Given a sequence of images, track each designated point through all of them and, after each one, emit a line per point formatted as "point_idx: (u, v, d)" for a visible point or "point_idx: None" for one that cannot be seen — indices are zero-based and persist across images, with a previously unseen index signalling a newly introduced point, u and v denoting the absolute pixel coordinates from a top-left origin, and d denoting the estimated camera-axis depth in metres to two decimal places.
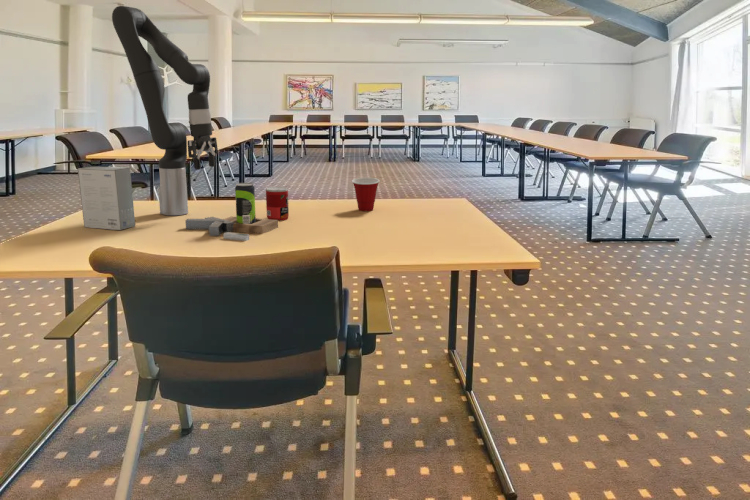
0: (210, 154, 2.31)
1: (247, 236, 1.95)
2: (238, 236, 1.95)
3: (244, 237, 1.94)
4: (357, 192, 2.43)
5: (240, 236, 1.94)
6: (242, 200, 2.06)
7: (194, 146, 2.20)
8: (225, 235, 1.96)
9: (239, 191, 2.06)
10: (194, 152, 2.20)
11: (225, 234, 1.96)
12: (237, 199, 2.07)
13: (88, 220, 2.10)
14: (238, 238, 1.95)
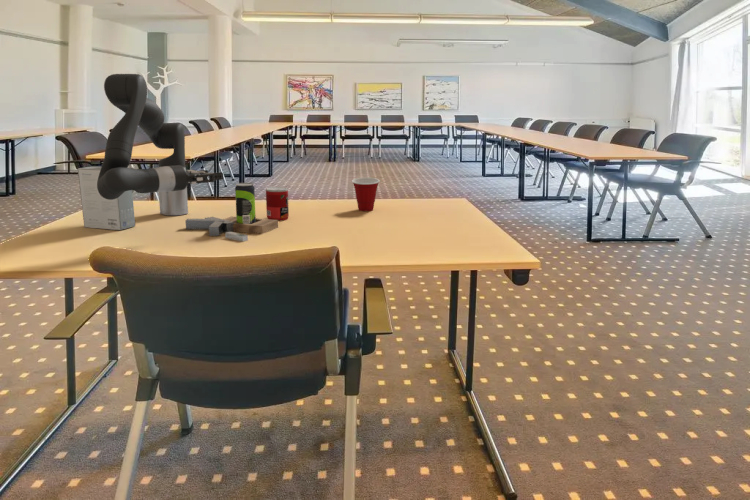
0: None
1: (245, 237, 1.94)
2: (236, 236, 1.94)
3: (241, 237, 1.93)
4: (357, 192, 2.43)
5: (238, 236, 1.94)
6: (242, 200, 2.06)
7: None
8: (226, 234, 1.97)
9: (239, 191, 2.06)
10: None
11: (226, 233, 1.97)
12: (237, 199, 2.07)
13: (88, 220, 2.10)
14: (237, 238, 1.95)
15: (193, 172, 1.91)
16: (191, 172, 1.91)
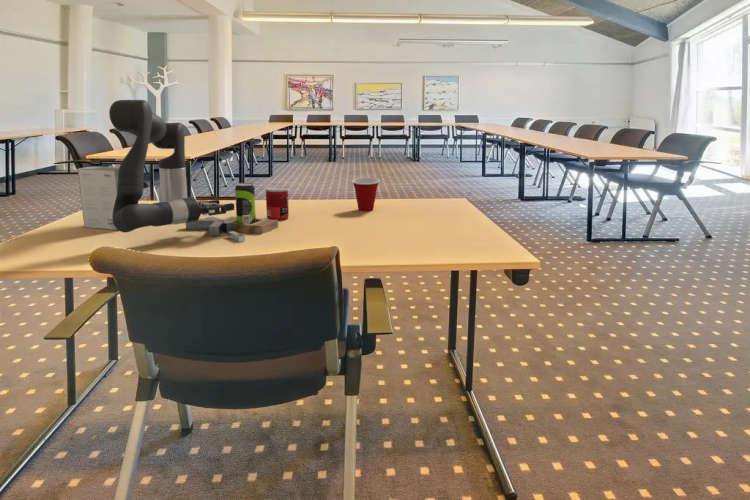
0: None
1: (242, 237, 1.93)
2: (235, 236, 1.94)
3: (238, 238, 1.93)
4: (357, 192, 2.43)
5: (236, 236, 1.94)
6: (242, 200, 2.06)
7: None
8: (228, 234, 1.98)
9: (239, 191, 2.06)
10: None
11: (228, 233, 1.98)
12: (237, 199, 2.07)
13: (88, 220, 2.10)
14: (235, 238, 1.95)
15: (205, 204, 1.96)
16: (203, 204, 1.96)
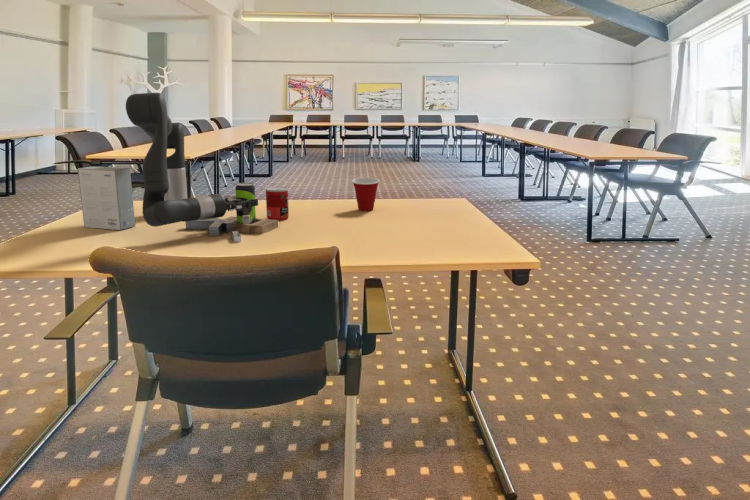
0: None
1: (238, 238, 1.92)
2: (233, 236, 1.94)
3: (234, 238, 1.93)
4: (357, 192, 2.43)
5: (233, 236, 1.94)
6: (242, 199, 2.06)
7: None
8: (232, 233, 1.99)
9: (239, 190, 2.06)
10: None
11: (232, 232, 1.99)
12: None
13: (88, 220, 2.10)
14: (233, 238, 1.95)
15: (231, 200, 2.03)
16: (229, 200, 2.03)
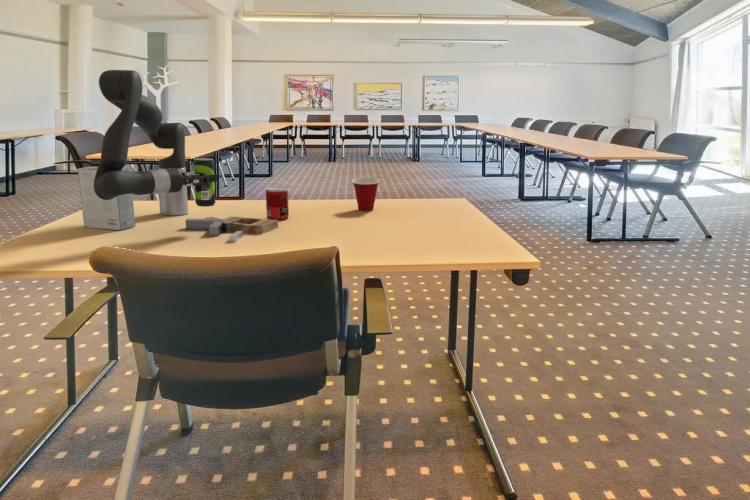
0: None
1: (232, 238, 1.92)
2: None
3: None
4: (357, 192, 2.43)
5: None
6: (200, 174, 1.99)
7: None
8: None
9: (197, 165, 1.98)
10: None
11: None
12: None
13: (88, 220, 2.10)
14: None
15: (188, 174, 1.96)
16: (186, 174, 1.96)
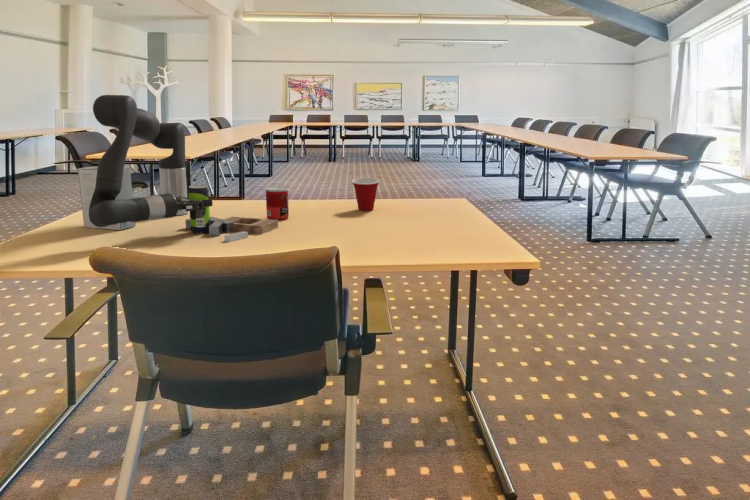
0: None
1: (227, 237, 1.93)
2: None
3: None
4: (357, 192, 2.43)
5: None
6: None
7: None
8: None
9: (192, 193, 2.00)
10: None
11: None
12: (190, 202, 2.01)
13: (88, 220, 2.10)
14: None
15: (183, 200, 1.97)
16: (181, 200, 1.97)
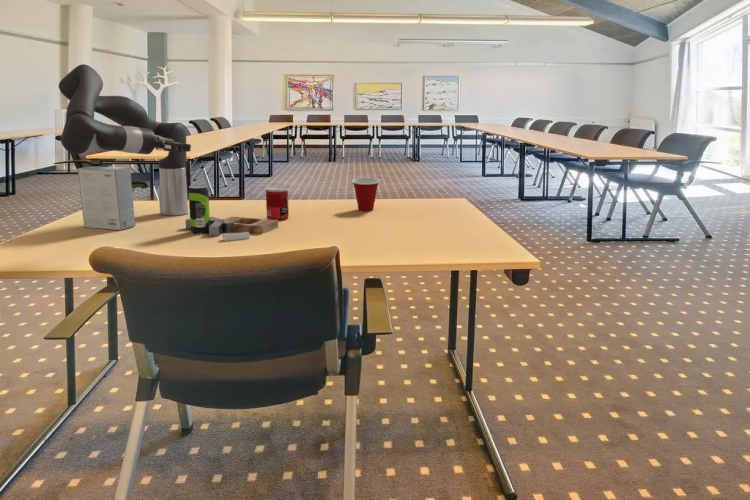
0: None
1: (223, 236, 1.94)
2: None
3: None
4: (357, 192, 2.43)
5: None
6: (195, 202, 2.00)
7: None
8: None
9: (192, 193, 2.00)
10: None
11: None
12: (190, 202, 2.01)
13: (88, 220, 2.10)
14: None
15: (161, 138, 1.85)
16: (159, 138, 1.85)
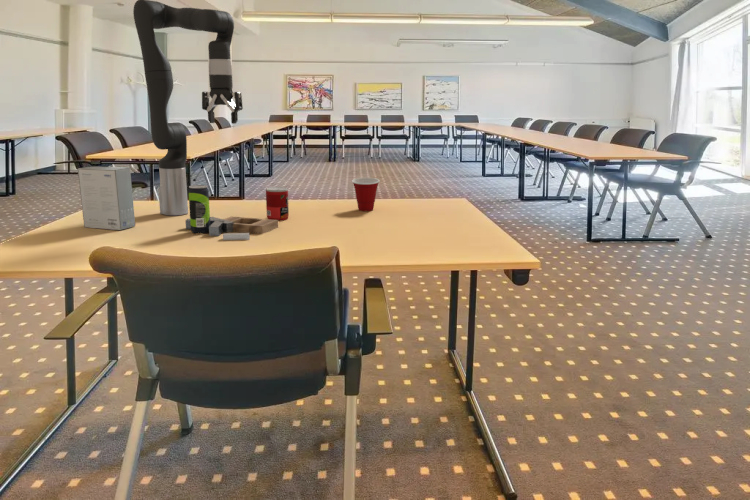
0: None
1: (223, 235, 1.95)
2: None
3: None
4: (357, 192, 2.43)
5: None
6: (195, 202, 2.00)
7: (203, 98, 2.13)
8: None
9: (192, 193, 2.00)
10: (203, 104, 2.14)
11: None
12: (190, 202, 2.01)
13: (88, 220, 2.10)
14: None
15: None
16: None
